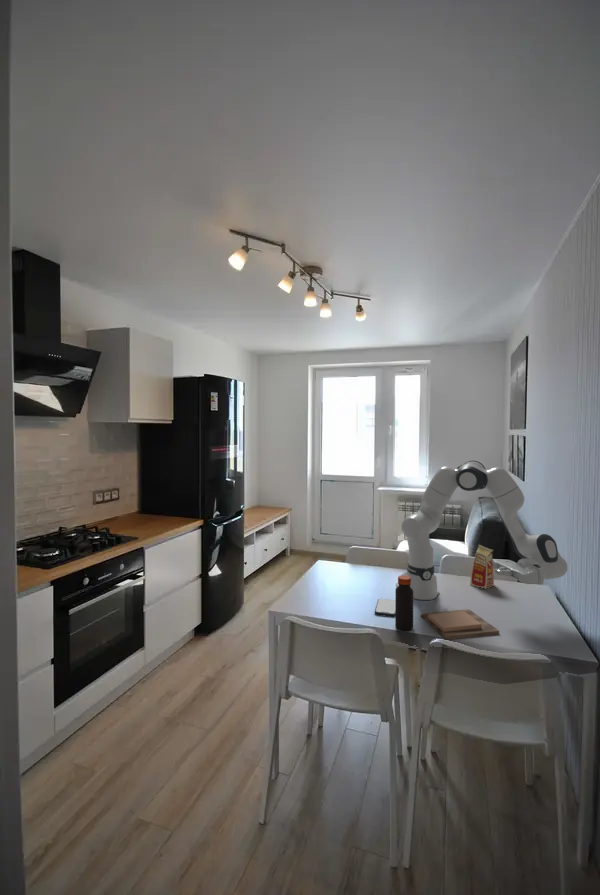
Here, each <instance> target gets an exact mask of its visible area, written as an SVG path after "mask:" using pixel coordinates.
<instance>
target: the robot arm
mask: <svg viewBox="0 0 600 895" xmlns="http://www.w3.org/2000/svg"><path fill="white" fill-rule="evenodd" d="M458 487H459V488H460V489H462V490H463V491H466V492H473V491H477V490H484V489H486V490H487V491H488V492H489V494H490V496H491V497H492V498H493V500H494V503H495V504H496V506H497V511H498V514H499V517H500V519H501V522H502V523H503V526H504V527H505V529H506V531H507V533H508V535H509V537H510V540H511V541H512V542H511V543H512V546H513V550H514V552H515V554H516V555H517V556H518V557H519V558H520V559H519V560H517V562H515V561H513V560H510V559H493V570H494V574H497V575H498V576H505V577H510V578H512V579H514V580H516V581H518V582H521V583H523V584H527V585H535V584H536V585H537V584H538V585H544V581H545V580H547V581H549V580H554V579H558V578H559V579H560V578H562V577H563V576H564V577H565V575H566V573H567V572H568V562H567V561H566V559H565V558H564V557H563V556H562V555H561V554H560V552H559V550H558V545H557V543H556V542H557V541H556V540H555V539H554V538H553V536H551V535H549V534H547V533H540V534H539V533H538V534H533V535H532V534H528V533H526V532H525V531H524V528H523V527H522V524H521V522H520V520H519V518H518V515H517V514H518V511H519V510H520V509H521V508H522V507H523V505H524V503H525V496H524V493H523V491H522V489H521V488H520V487H519V485H518V484H517V482H516V481H515V480H514V478H513V477H512V476H511V475H510V474H509V472H508V471H507V470H506V469H505V468H503V467H501V466H495V467H492V468H490V469H486V467H485V465H484V464H483V463H481V461H478V460H469V461H466V462H464V463H462V464H460V465H459V466H457V467H456V468H453V467H451V466H445V465H444V466H442V467H440V468H439V469H438V470H437V472H436V473H435V474H434V475H433V477H432V478H431V479H430V482H429V484H428V485H427V487H426V489H425V491H424V492H423V494H422V496H421V503H420V505H419V506H420V507H419V509H418V510H417V511H416V512H415V513H412V514H410V515H408V516H407V517H405V519H403V520H402V523H401V532H402V534H403V535H404V536H405V538H406V542H407V545H408V562H407V563H406V565H407V566H406V568H407V569H406V570H405V571H404V572H402V574H401V575H406V576H409V577H411V585H410V587H411V588H412V589H413V600H414V599H415V600H419V601H420V600H421V601H428V600H433V599H436V598H437V596H438V595H440V590H439V589H438V579H437V576H436V575H435V565H434V548H433V547H432V545H431V541H430V534H432V533H434V532H435V531H437V529H438V528H439V526H440V524H441V520H442V516H443V513H444V511H445V509H446V507H447V505H448V503H449V502H450V500H451V498H452V496H453V494H454V492H455V491H456V489H458ZM396 586H397V587H398V586H399V584H398V582H397V583H395V587H396ZM397 587H396V588H397Z"/></svg>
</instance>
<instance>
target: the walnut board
mask: <svg viewBox="0 0 600 895" xmlns="http://www.w3.org/2000/svg"><path fill="white" fill-rule="evenodd" d="M460 611H464V612H466V613H467V614H469V615H470V616H471V617H473V618H474V619H475V620H477V621H478V622H479V623H481V624H482V628H478V629H469V630H459V631H449V632H443V631H442V630H441V629H439V628H438V627H437V626H436V625H435V624H434V623H433V622H432V621H431V620H429V619H428V614H439V613H450V612H460ZM420 617H421V618H422V619H423V620H424V621H425V622H426V623H427V624H428V625H429V626H431V627H432V628H433V630H435V631H436V632H437V633H439V635H440V636H441V637H443V639H445V640H453V639H460V638H461V639H464V638H473V637H474V638H475V637H481V636H482V637H483V636H492V635H499V634H500V630H499V629H498V628H496V627H495V626H493V625H492V624H491V623H489V622H488V621H487V620H485V619H484V618H482V617H481V616H480V615H478V614H477V613H475V612H474V611H472V610H471V609H465V608H464V609H456V610H445V611H436V612H423V613H420Z"/></svg>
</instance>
